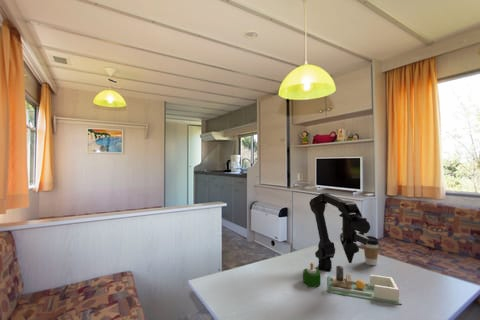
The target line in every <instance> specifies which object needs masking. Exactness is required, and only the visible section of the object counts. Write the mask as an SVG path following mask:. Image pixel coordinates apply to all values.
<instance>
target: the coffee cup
mask: <svg viewBox="0 0 480 320" xmlns="http://www.w3.org/2000/svg"><path fill="white" fill-rule="evenodd" d="M365 236H366V237H367V238H368V239H369V240H368V242H367V244H366V245H364V244H363V251H364V252H363V253H364V261H365V264H366V265H369V266H377V265H378V254H379V245H380V242H379V239H378V238H376V237H375V236H372V235H365Z"/></svg>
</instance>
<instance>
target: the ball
mask: <svg viewBox="0 0 480 320" xmlns="http://www.w3.org/2000/svg"><path fill="white" fill-rule="evenodd" d="M355 281H356V286H357V288H359V289H364V288H365V283H364V282H365V281H364V280H362V279H357V280H355Z"/></svg>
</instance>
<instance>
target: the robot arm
mask: <svg viewBox="0 0 480 320" xmlns="http://www.w3.org/2000/svg"><path fill="white" fill-rule="evenodd" d="M308 203H309V207H310V210H311V212H312V213H313V214H314V216H315V222H316V226H317V227H316V228H317V231H318V232H317V233H318V237H319V242H318V245H317V248H318V249H317V250H316V251H315V252H314V254H315V258H317V259H318V268H317V270H318V271H326V272H331V271H332V266H333V265H332V261H333V260H332V259H334V256H335V253H336V247H335V243H334V242H333V241H331V239H330V238H329V232H328V229H327V228H328V227H327V224H326V223H327V222H326V218H325V211H326V205H327V204H329V205H332V206H333V207H335V208H337V210H338V212H340V213H339V215H338V216H339V217H340V218H342V219H341V220H342V221H341V223H342V225H341V226H342V227H341V231H342V232H341V233H340V234H339V239H340V242H341V243H340V244H341V246H342V248H343V251H344V254H345V257H346V258H347V262H348V263H349V264H352V262H353V259H354V255H355V254H356V253H359V252H360V247H359V245H358V244H357V242H358V243H360V244H362V245H363V246H364V245H366V244H367V242H368V240H369V239H368V238H367V237H366V236H367V235H365V234H368V233H369V231H370V230H371V225H370V222H369V221H367V219H368V218H367V217H363V215H362V213H361V210H360V209H359V207H358V205H357V203H356V202H354V201H351V200H345V199H344V200H343V199H341V198H339V197H336V196H334V195H331V194H330V193H328V192H323V193H320V194H318V195H317V196H315V197H313V198H311V199H310V201H309V202H308Z"/></svg>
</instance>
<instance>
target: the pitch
mask: <svg viewBox="0 0 480 320" xmlns="http://www.w3.org/2000/svg"><path fill="white" fill-rule="evenodd" d="M333 277H334V276H327V283H328V284H327V286H328V287H327V289H328V290H327V291H328V293H330V294H334V295H335V294H337V295H342V296H348V297H352V298H353V297H354V298H359V299H364V300H365V299H366V300H372V301H375V302H376V301H377V302H383V303H388V304H393V305H394V304H395V305H400V306H402V302H401V300H400V289H399V288H398V286H397V284H396V282H395V281H394V279H393V277H392V276H384V275H383V276H382V275H377V274H370V275H369V282H365V281H363V282H364V283H365V288H364V289H359V288H357V286H356V281H357V280H353V279H351V280H352V290H351V289H347V288H345V287H339V286H333Z"/></svg>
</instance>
